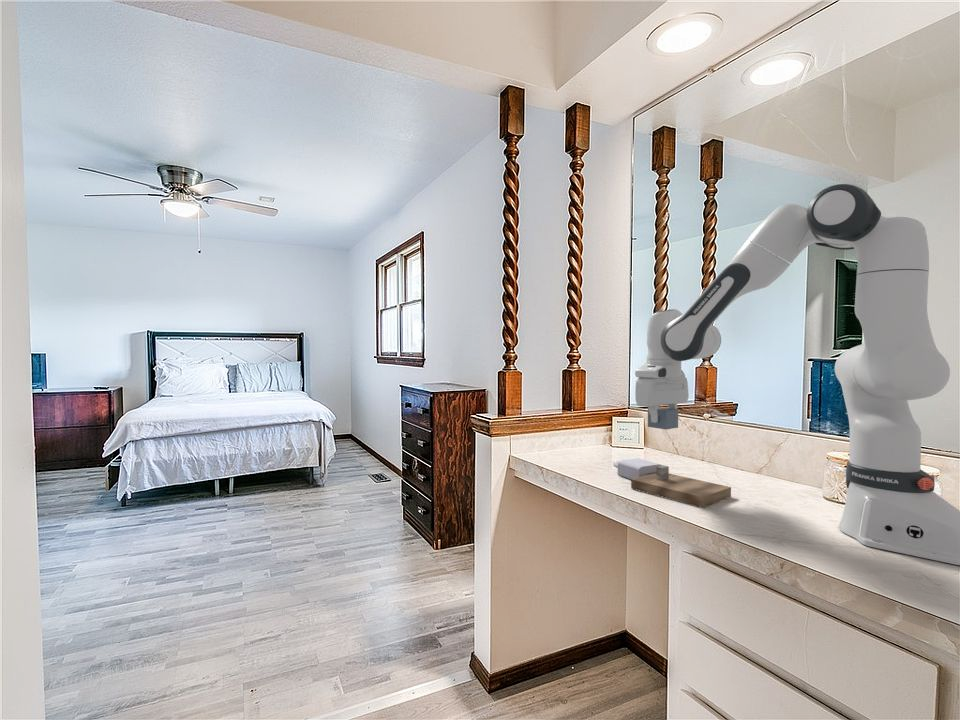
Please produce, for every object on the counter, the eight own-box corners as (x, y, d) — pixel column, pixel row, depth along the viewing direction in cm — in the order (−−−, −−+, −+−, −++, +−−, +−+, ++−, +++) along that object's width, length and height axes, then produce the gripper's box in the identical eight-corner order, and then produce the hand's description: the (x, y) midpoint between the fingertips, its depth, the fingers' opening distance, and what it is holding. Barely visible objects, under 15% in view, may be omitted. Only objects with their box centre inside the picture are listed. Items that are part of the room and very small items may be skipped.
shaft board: (730, 496, 124) (731, 473, 124) (703, 507, 115) (703, 483, 115) (660, 480, 140) (660, 459, 139) (631, 488, 131) (631, 466, 131)
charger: (627, 468, 154) (663, 480, 141) (604, 471, 150) (638, 483, 137) (627, 453, 154) (663, 463, 140) (604, 456, 150) (638, 467, 137)
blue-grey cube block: (647, 426, 132) (647, 407, 131) (659, 424, 135) (659, 406, 135) (666, 429, 127) (666, 409, 127) (678, 427, 130) (678, 408, 130)
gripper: (673, 369, 139) (673, 416, 140) (631, 370, 127) (630, 423, 127) (694, 369, 134) (694, 419, 135) (652, 371, 122) (651, 426, 122)
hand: (662, 421), depth 131 cm, fingers closed on blue-grey cube block, 6 cm apart
